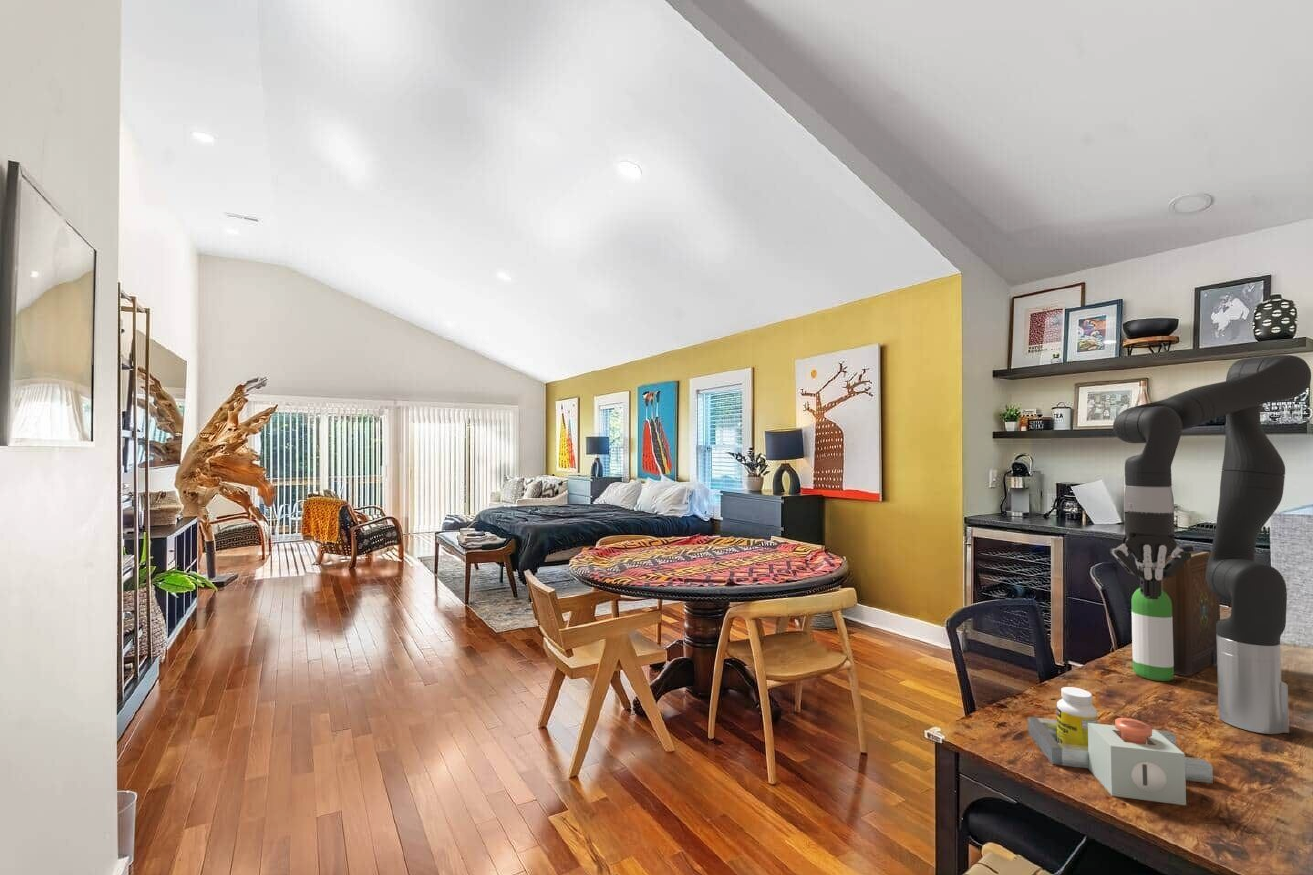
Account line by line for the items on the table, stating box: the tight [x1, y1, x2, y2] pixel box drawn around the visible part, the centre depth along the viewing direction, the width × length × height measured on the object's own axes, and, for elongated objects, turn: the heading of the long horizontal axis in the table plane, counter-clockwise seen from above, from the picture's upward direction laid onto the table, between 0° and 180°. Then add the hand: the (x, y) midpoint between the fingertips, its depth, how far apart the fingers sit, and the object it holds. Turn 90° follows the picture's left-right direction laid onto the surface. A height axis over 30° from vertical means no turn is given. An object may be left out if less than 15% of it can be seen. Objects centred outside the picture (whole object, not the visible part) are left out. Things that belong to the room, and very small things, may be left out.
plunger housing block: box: [1088, 723, 1187, 806], centre depth 98 cm, size 10×9×8 cm
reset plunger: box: [1114, 717, 1153, 744], centre depth 98 cm, size 5×5×4 cm
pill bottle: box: [1056, 686, 1099, 746], centre depth 109 cm, size 6×6×11 cm
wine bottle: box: [1131, 587, 1175, 682], centre depth 146 cm, size 8×8×30 cm
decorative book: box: [1161, 543, 1221, 677], centre depth 153 cm, size 23×7×30 cm, turn 122°
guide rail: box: [1027, 716, 1214, 784], centre depth 108 cm, size 24×12×3 cm, turn 75°
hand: (1150, 598), depth 115 cm, fingers closed
